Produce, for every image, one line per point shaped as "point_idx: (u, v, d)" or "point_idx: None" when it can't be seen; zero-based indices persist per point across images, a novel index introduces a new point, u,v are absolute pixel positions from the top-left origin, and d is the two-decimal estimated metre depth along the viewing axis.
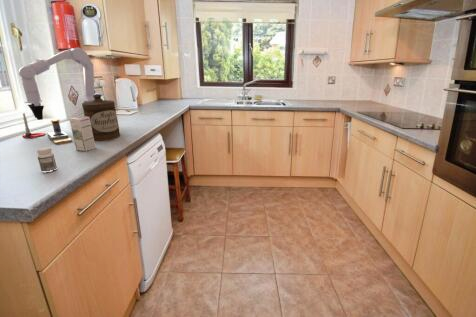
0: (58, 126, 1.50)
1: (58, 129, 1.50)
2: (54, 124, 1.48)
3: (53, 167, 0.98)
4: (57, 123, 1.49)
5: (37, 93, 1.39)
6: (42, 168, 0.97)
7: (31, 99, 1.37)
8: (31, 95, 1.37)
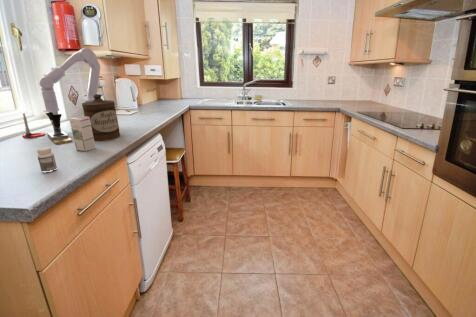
0: None
1: (58, 129, 1.50)
2: None
3: (53, 167, 0.98)
4: None
5: (55, 102, 1.46)
6: (42, 168, 0.97)
7: (50, 108, 1.44)
8: (50, 104, 1.44)
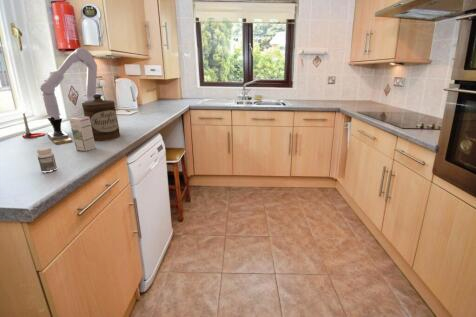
0: None
1: None
2: None
3: (53, 167, 0.98)
4: None
5: (56, 107, 1.47)
6: (42, 168, 0.97)
7: (51, 113, 1.45)
8: (51, 109, 1.45)
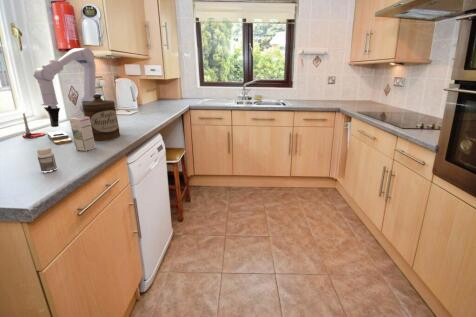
0: None
1: None
2: None
3: (53, 167, 0.98)
4: None
5: (54, 95, 1.35)
6: (42, 168, 0.97)
7: (48, 101, 1.33)
8: (48, 97, 1.33)
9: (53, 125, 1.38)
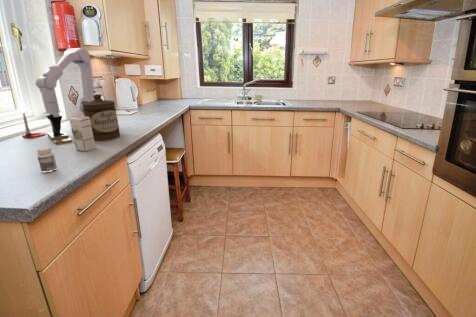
0: None
1: None
2: None
3: (53, 167, 0.98)
4: None
5: (56, 103, 1.34)
6: (42, 168, 0.97)
7: (50, 109, 1.33)
8: (50, 105, 1.32)
9: (55, 133, 1.38)
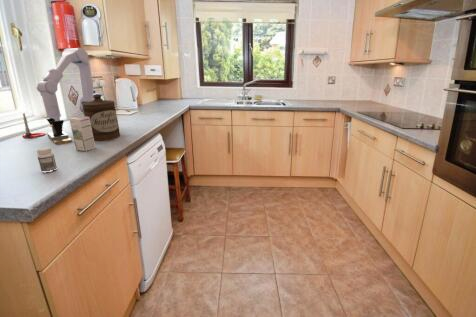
0: None
1: None
2: (54, 129, 1.37)
3: (53, 167, 0.98)
4: None
5: (57, 107, 1.35)
6: (42, 168, 0.97)
7: (51, 114, 1.34)
8: (51, 110, 1.33)
9: None
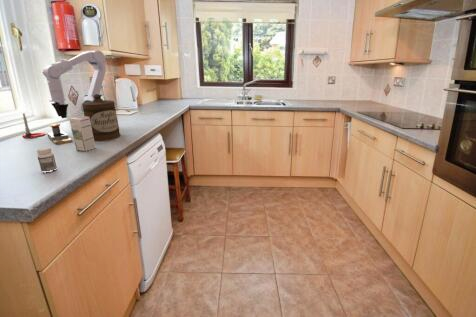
0: (58, 131, 1.39)
1: (58, 134, 1.39)
2: (54, 129, 1.37)
3: (53, 167, 0.98)
4: (57, 128, 1.38)
5: (61, 92, 1.41)
6: (42, 168, 0.97)
7: (56, 98, 1.40)
8: (56, 94, 1.39)
9: None
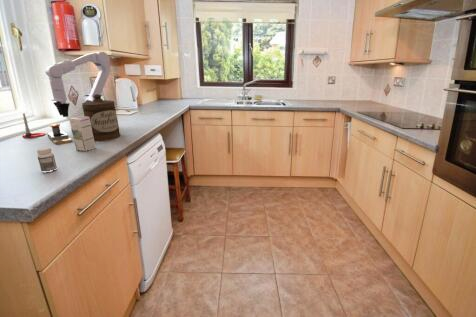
0: (58, 131, 1.39)
1: (58, 134, 1.39)
2: (54, 129, 1.37)
3: (53, 167, 0.98)
4: (57, 128, 1.38)
5: (63, 91, 1.44)
6: (42, 168, 0.97)
7: (58, 97, 1.42)
8: (58, 93, 1.42)
9: None
